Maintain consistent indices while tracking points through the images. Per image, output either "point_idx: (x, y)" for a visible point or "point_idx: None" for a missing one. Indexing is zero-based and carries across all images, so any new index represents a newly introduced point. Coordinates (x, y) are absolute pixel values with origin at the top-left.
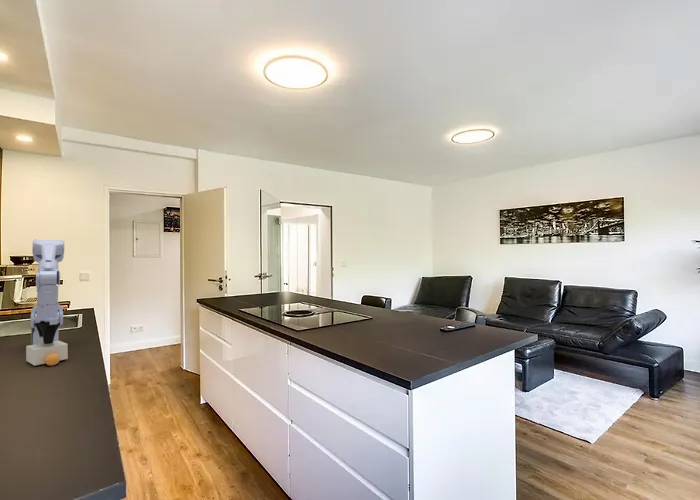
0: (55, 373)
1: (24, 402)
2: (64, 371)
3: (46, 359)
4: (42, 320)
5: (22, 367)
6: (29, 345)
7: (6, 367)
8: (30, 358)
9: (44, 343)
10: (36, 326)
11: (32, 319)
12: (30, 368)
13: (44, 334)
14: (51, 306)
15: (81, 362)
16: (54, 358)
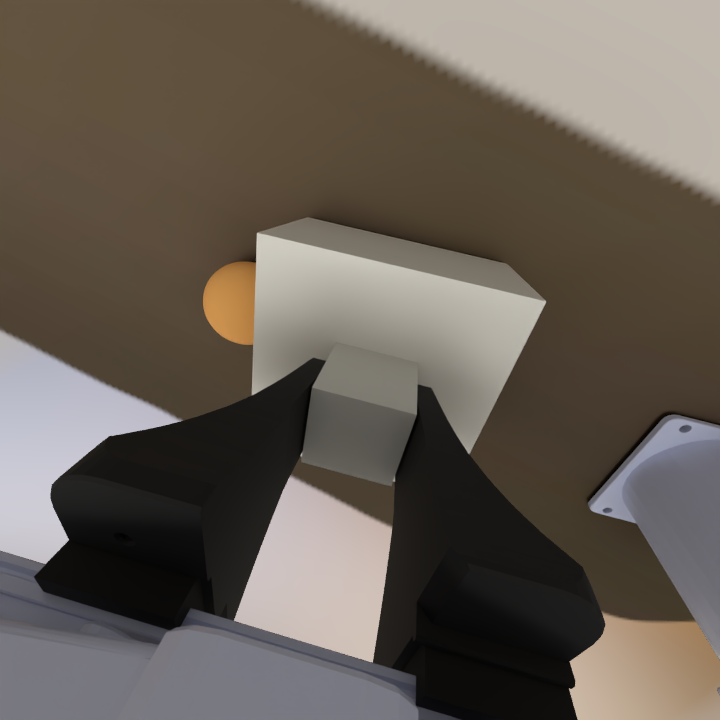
0: (63, 201)
1: None
2: (77, 247)
3: (227, 266)
4: (3, 632)
5: (386, 175)
6: (521, 321)
7: (515, 106)
8: (394, 244)
9: (319, 360)
10: (466, 522)
11: (299, 704)
12: (305, 189)
13: (243, 405)
14: None
15: (205, 379)
16: (203, 299)
